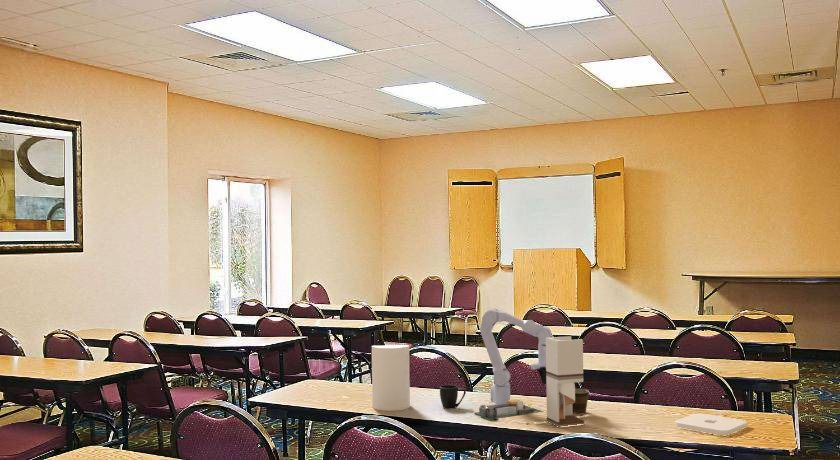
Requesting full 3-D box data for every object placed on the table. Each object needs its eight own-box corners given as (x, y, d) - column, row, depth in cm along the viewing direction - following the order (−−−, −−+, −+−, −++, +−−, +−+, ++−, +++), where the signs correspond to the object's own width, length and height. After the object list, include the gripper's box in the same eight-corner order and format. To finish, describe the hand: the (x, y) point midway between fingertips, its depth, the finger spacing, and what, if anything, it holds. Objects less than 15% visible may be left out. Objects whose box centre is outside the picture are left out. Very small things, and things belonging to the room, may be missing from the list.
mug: (462, 410, 333) (462, 389, 333) (437, 408, 337) (437, 387, 337) (468, 406, 340) (467, 385, 340) (443, 404, 345) (443, 384, 345)
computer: (672, 428, 298) (671, 421, 298) (696, 418, 314) (696, 412, 314) (726, 438, 283) (726, 431, 283) (749, 427, 298) (749, 421, 298)
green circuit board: (473, 414, 325) (473, 404, 325) (525, 407, 338) (524, 397, 338) (490, 421, 312) (490, 410, 312) (543, 413, 325) (543, 403, 325)
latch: (506, 410, 328) (506, 400, 328) (516, 409, 330) (516, 398, 330) (513, 412, 323) (512, 402, 323) (523, 411, 326) (523, 400, 326)
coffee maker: (558, 427, 300) (557, 340, 301) (546, 421, 310) (545, 337, 311) (584, 425, 303) (582, 339, 304) (571, 419, 314) (570, 336, 314)
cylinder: (409, 410, 334) (409, 347, 335) (371, 410, 334) (370, 348, 335) (410, 402, 352) (409, 342, 352) (373, 402, 351) (372, 343, 352)
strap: (482, 409, 322) (482, 406, 322) (510, 405, 328) (510, 402, 328) (488, 411, 318) (488, 408, 318) (516, 407, 324) (516, 404, 324)
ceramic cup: (581, 410, 330) (580, 387, 330) (594, 415, 321) (593, 392, 321) (555, 413, 325) (555, 390, 325) (568, 418, 316) (567, 394, 316)
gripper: (537, 356, 331) (537, 386, 331) (563, 353, 338) (563, 383, 338) (527, 354, 338) (528, 384, 338) (553, 351, 344) (553, 381, 344)
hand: (545, 383), depth 338 cm, fingers closed
